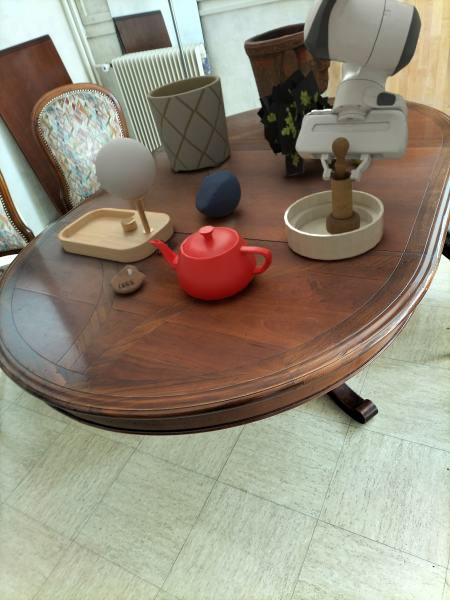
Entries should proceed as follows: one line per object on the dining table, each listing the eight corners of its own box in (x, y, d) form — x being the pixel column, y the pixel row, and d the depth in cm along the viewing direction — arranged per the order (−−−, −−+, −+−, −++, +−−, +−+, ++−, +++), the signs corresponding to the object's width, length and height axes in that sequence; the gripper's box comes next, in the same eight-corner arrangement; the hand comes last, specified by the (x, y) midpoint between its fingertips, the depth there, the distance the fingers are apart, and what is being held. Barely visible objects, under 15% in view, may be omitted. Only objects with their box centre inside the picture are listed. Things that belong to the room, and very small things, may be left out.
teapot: (287, 262, 83) (280, 207, 76) (264, 314, 72) (253, 255, 65) (178, 258, 93) (162, 209, 86) (144, 302, 82) (123, 250, 75)
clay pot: (306, 147, 130) (297, 36, 112) (242, 138, 150) (226, 43, 131) (354, 119, 141) (353, 15, 123) (289, 115, 161) (279, 23, 143)
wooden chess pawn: (340, 239, 81) (336, 148, 70) (319, 228, 86) (313, 141, 75) (367, 226, 83) (367, 135, 72) (345, 216, 88) (342, 129, 77)
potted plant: (365, 153, 121) (311, 57, 113) (380, 160, 100) (315, 43, 93) (301, 195, 128) (246, 107, 121) (302, 209, 107) (237, 104, 100)
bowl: (380, 211, 91) (381, 185, 88) (385, 261, 77) (386, 233, 73) (292, 217, 97) (289, 193, 93) (282, 264, 83) (278, 238, 79)
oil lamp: (159, 280, 89) (134, 273, 94) (155, 263, 87) (129, 257, 92) (128, 300, 83) (103, 292, 88) (123, 283, 81) (97, 275, 86)
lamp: (56, 250, 109) (6, 155, 94) (101, 218, 120) (63, 128, 104) (151, 268, 92) (109, 156, 77) (193, 228, 103) (164, 123, 87)
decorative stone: (230, 199, 112) (222, 162, 106) (253, 212, 103) (246, 174, 97) (191, 215, 109) (181, 179, 103) (212, 231, 100) (203, 192, 94)
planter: (239, 144, 145) (225, 70, 131) (228, 170, 128) (211, 88, 114) (178, 153, 151) (159, 83, 137) (159, 179, 134) (135, 102, 120)
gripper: (299, 102, 81) (283, 172, 81) (412, 95, 70) (394, 175, 70) (310, 118, 86) (295, 183, 86) (416, 114, 75) (400, 188, 75)
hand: (340, 180), depth 78 cm, fingers closed on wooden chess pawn, 4 cm apart
